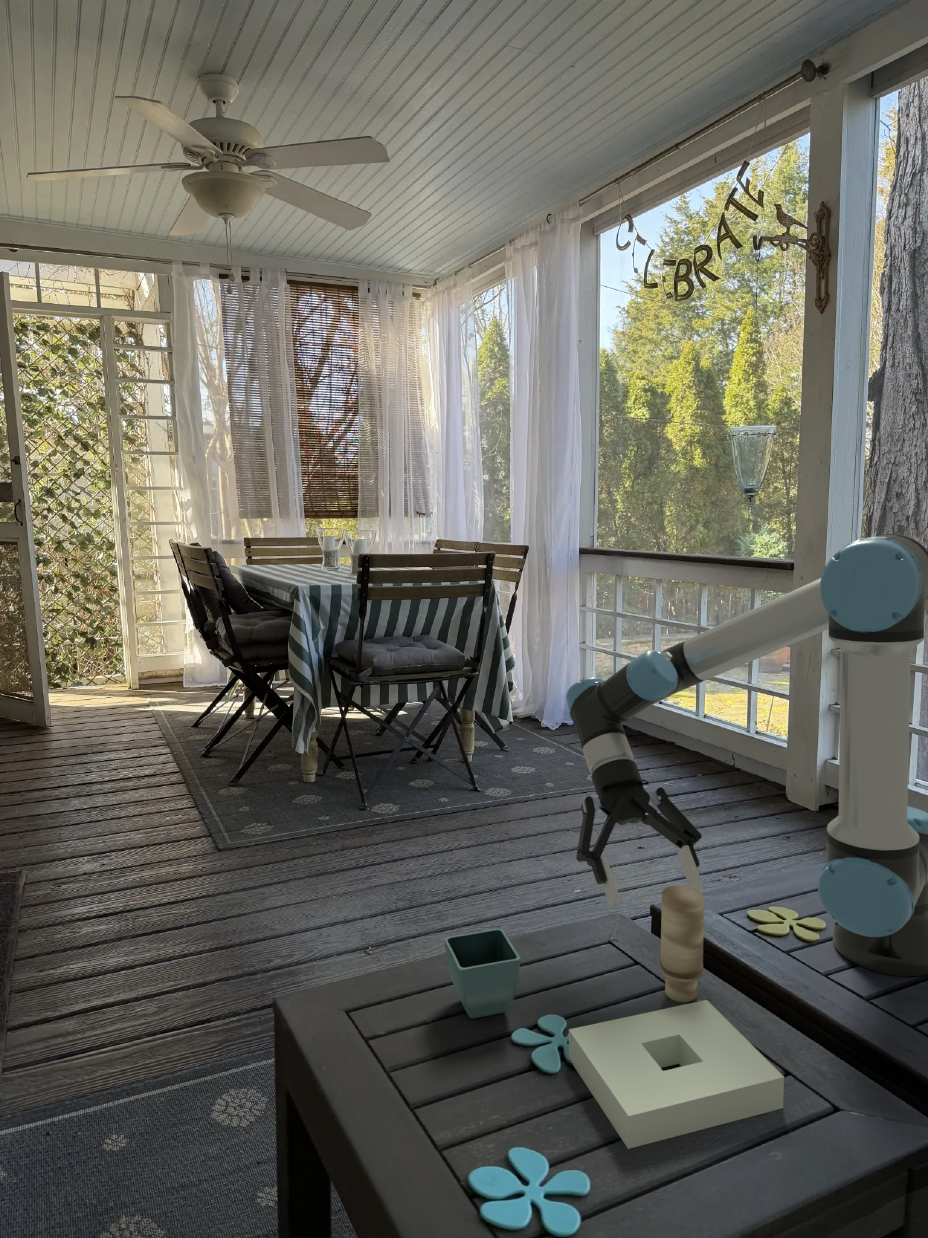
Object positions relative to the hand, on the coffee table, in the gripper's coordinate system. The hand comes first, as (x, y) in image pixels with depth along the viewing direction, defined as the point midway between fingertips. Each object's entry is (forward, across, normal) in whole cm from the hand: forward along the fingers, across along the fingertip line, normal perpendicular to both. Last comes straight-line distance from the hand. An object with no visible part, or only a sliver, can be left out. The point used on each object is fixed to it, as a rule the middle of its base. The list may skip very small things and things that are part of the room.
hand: (657, 897), depth 126 cm
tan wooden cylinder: (+13, -1, -4) cm, 13 cm away
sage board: (+24, +10, +7) cm, 27 cm away
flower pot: (+9, +27, -9) cm, 30 cm away
